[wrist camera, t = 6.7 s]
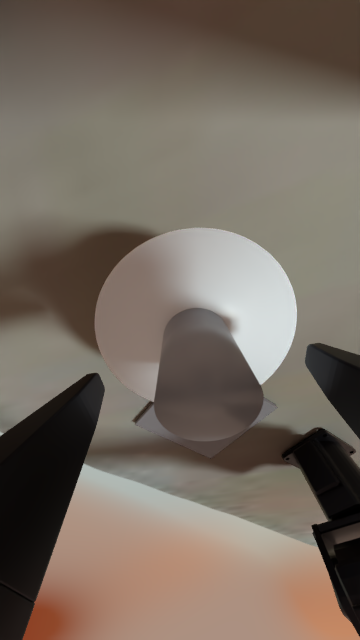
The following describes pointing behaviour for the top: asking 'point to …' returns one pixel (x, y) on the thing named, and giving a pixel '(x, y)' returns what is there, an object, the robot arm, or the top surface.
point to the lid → (197, 328)
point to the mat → (201, 447)
